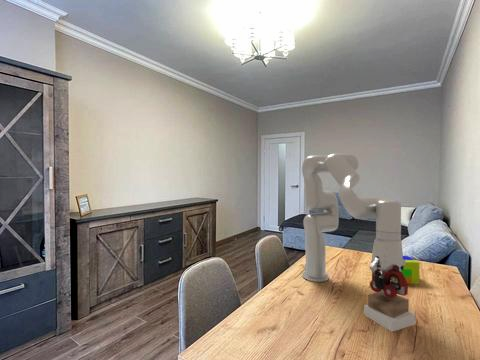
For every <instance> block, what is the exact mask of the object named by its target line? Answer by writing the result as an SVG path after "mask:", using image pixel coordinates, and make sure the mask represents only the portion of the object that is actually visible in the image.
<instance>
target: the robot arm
mask: <svg viewBox="0 0 480 360" xmlns="http://www.w3.org/2000/svg"><path fill="white" fill-rule="evenodd" d="M358 168H359V160H358V158H357V157H356V156H355V154H352V153H342V152H341V153H338V152H337V153H331V154H328V155H324V154H323V155H322V154H318V155H317V154H315V155H313V154H312V155H308V156H307V157H306V158H304V160H303V162H302V166H301V173H302V177H303V181H304V196H305V197H304V199H305V205H306V208H307V209H308V210H309V211H323V212H313V213H308V214H306V215H305V216H304V218H303V219H302V220H303V229H304V230H303V231H304V235H305V236H304V237H305V238H304V239H305V242H304V244H305V264H304V265H302V268H303V269H304V271H303V272H302V278H303V279H305V280H306V279H307V281H310V282H315V283H322V282H327V281H329V279H330V278H329V277H330V275H329V274H328V273H327V272H326V271H327V270H326V268H327V267H326V263H327V261H326V257H327V256H326V251H327V249H326V248H327V247H326V240H325V237H324V236H323V234H322V233H327V232H329V233H331V232H334V231H336V230H338V227H339V220H340V219H339V218H340V217H339V203H338V202H339V201H340V203H341V205H342V206H343V208H344V209H345V210H346V212H347V213H348V214H349V215H350V216H351V217H352V218H354V219H357V220H358V219H359V220H361V219H362V220H363V219H375V233H376V234H375V239H374V240H373V247H372V250H371V252H372V253H371V261H372V263H370V265H369V266H368V267H369V269H370V271H371V274H372V273H373V274H374V276H375V287H377V288H379V289H381V290H384V278H383V275H384V273H385V270H391V269H393V266H394V265H397V266H399V271H401V272H402V270H403V268H404V267H403V266H404V265H405V263H406V261H405V260H404V259H403V256H404V255H403V254H404V253H403V251H404V250H403V243H402V234H401V233H402V204H401V202H400V201H398V200H395V199H384V198H381V197H359V196H357V195H356V193H355V191H354V190H353V188H354V187H355V186H357V184H358V183H359V182H360V178H361V177H360V174H359V173H358V172H357V169H358ZM319 174H331V176H332V177H333V178H334V180H335V181H336V183H337V184H338V185H339V190H338V194H339V201H338V198H337V195H336V194H335V192H332V191H331V190H324V188H323V185H324V184H323V181H322V178H321V177H320V175H319ZM380 266H381V268H380ZM379 270H381V272H380V273H379ZM392 275H393V274H392Z"/></svg>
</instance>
